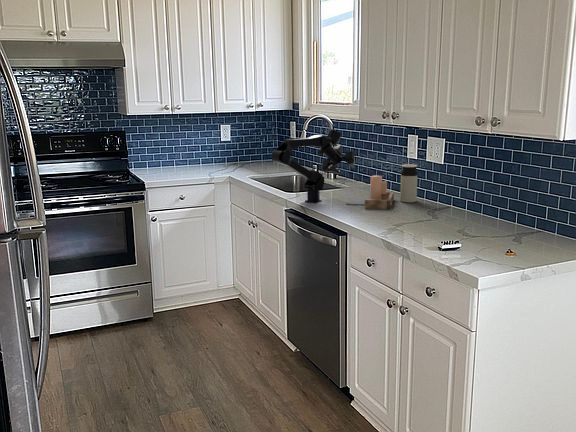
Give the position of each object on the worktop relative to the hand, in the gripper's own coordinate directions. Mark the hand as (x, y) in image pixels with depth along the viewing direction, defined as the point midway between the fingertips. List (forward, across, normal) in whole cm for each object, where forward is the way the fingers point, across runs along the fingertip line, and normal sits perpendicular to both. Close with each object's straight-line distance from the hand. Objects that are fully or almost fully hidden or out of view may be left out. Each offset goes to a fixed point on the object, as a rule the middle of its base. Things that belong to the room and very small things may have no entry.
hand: (347, 170), depth 297 cm
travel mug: (+18, -27, +16) cm, 36 cm away
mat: (+2, -8, +22) cm, 24 cm away
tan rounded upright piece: (+6, -17, +23) cm, 29 cm away
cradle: (+7, -17, +23) cm, 29 cm away
